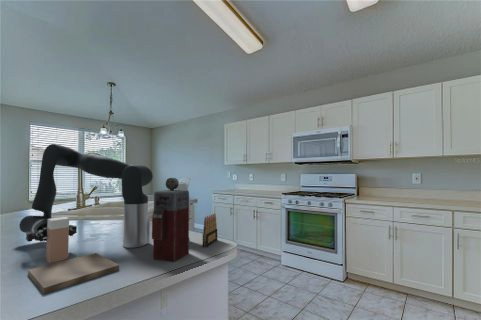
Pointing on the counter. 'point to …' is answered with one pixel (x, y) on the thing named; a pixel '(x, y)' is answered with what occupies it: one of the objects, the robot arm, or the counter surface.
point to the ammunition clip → (209, 230)
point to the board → (71, 272)
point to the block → (57, 239)
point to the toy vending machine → (170, 223)
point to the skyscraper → (184, 186)
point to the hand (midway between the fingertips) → (57, 235)
